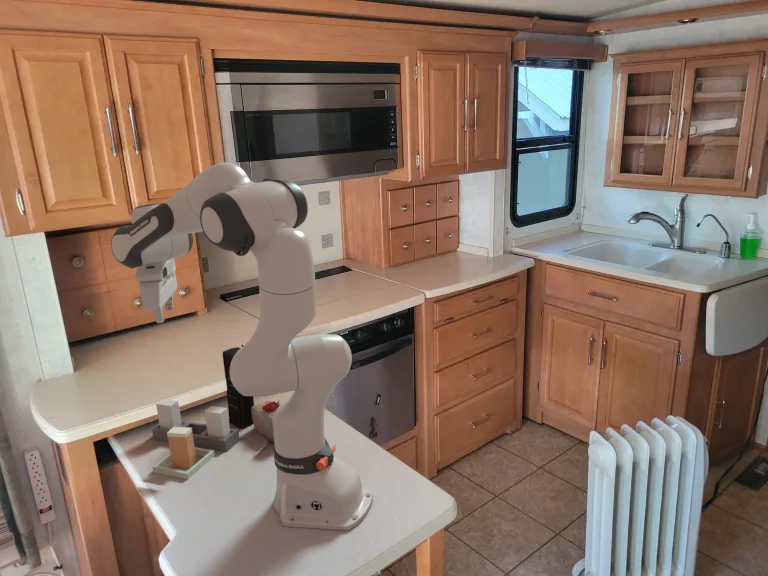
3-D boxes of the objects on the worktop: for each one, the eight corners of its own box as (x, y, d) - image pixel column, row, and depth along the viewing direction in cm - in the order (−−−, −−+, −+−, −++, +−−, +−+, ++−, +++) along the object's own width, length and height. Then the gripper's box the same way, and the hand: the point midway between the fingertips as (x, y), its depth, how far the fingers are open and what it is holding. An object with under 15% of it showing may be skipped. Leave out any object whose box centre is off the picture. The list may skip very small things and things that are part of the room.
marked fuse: (197, 462, 145) (191, 427, 142) (191, 469, 142) (185, 433, 140) (179, 461, 146) (173, 426, 143) (173, 467, 143) (166, 432, 141)
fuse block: (242, 441, 155) (237, 405, 152) (227, 455, 149) (222, 418, 146) (168, 429, 163) (162, 394, 160) (151, 442, 157) (144, 406, 154)
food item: (249, 432, 160) (245, 401, 157) (272, 421, 165) (269, 390, 163) (278, 449, 151) (274, 416, 148) (302, 437, 156) (299, 405, 153)
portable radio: (226, 424, 165) (215, 344, 158) (243, 416, 169) (233, 337, 162) (242, 432, 160) (231, 350, 153) (259, 423, 164) (250, 343, 157)
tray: (215, 459, 147) (214, 450, 147) (188, 482, 138) (187, 473, 137) (182, 452, 151) (180, 444, 150) (154, 475, 141) (152, 466, 141)
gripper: (155, 257, 157) (163, 304, 161) (132, 277, 137) (142, 330, 141) (178, 255, 157) (185, 303, 161) (159, 275, 138) (168, 328, 142)
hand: (165, 316), depth 151 cm, fingers open, 8 cm apart
